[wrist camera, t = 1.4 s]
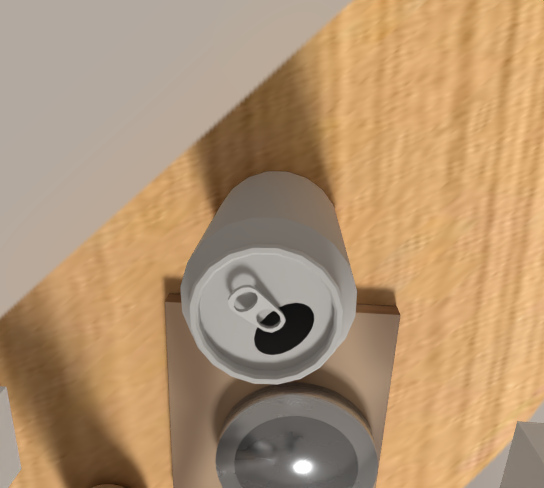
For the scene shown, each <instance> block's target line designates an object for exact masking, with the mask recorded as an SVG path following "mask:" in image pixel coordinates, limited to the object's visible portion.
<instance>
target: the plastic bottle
mask: <svg viewBox="0 0 544 488" xmlns="http://www.w3.org/2000/svg"><path fill="white" fill-rule="evenodd" d="M92 488H125V487H122V486H118V485H112V484H104V485H98V486H94V487H92Z"/></svg>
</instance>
